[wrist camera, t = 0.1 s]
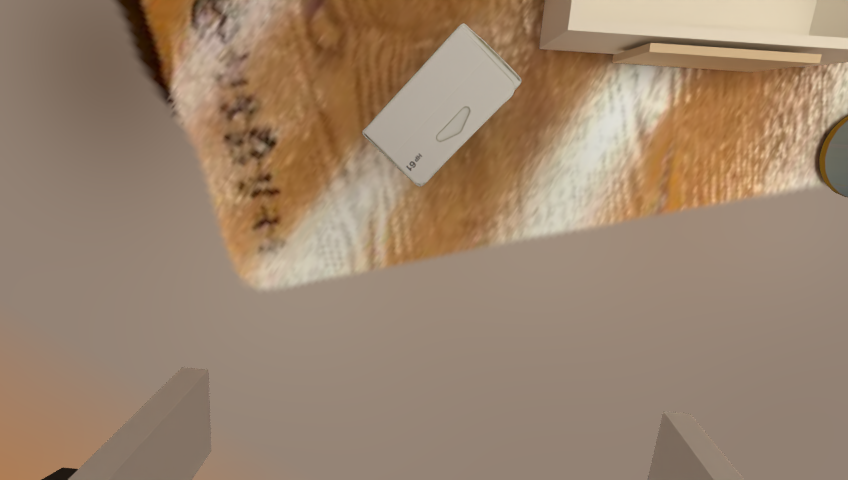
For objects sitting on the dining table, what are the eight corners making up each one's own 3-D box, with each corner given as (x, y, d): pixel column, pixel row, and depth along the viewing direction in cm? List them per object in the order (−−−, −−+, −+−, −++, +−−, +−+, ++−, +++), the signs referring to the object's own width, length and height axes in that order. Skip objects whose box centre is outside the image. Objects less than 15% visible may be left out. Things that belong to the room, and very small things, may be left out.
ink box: (457, 45, 38) (464, 15, 26) (503, 91, 38) (529, 83, 27) (383, 127, 39) (358, 133, 28) (428, 170, 40) (422, 194, 29)
